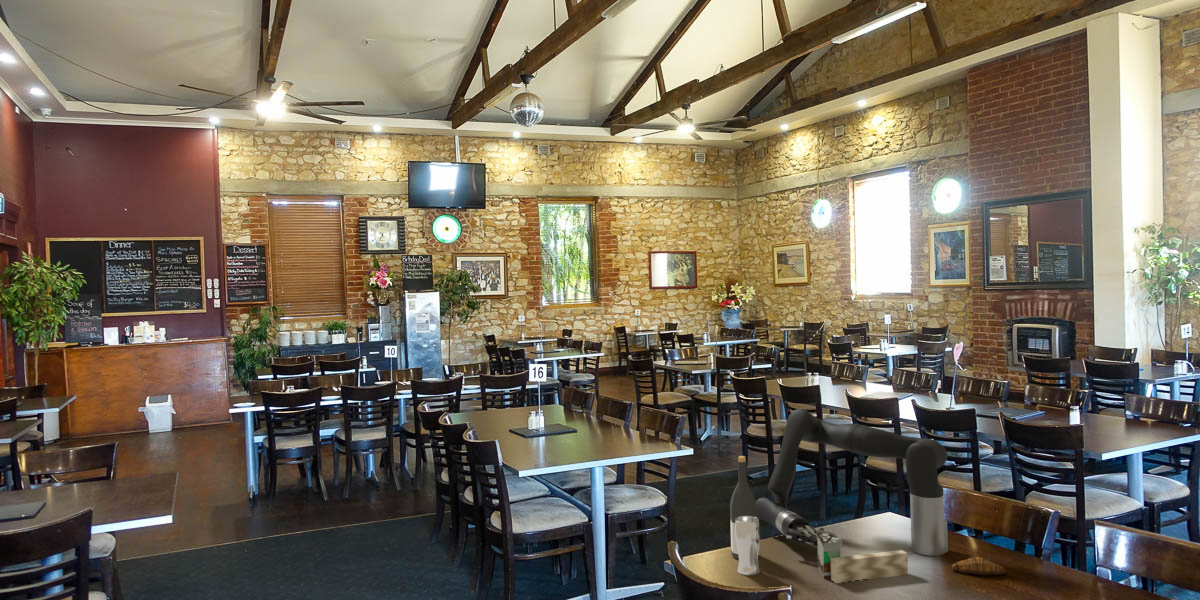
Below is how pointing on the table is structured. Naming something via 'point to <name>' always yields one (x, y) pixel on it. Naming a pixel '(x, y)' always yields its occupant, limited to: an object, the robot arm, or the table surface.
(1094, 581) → the table surface
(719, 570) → the table surface
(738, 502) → the wine bottle
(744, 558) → the beer glass
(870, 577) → the maple board
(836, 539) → the food container
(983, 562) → the croissant
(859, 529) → the table surface
